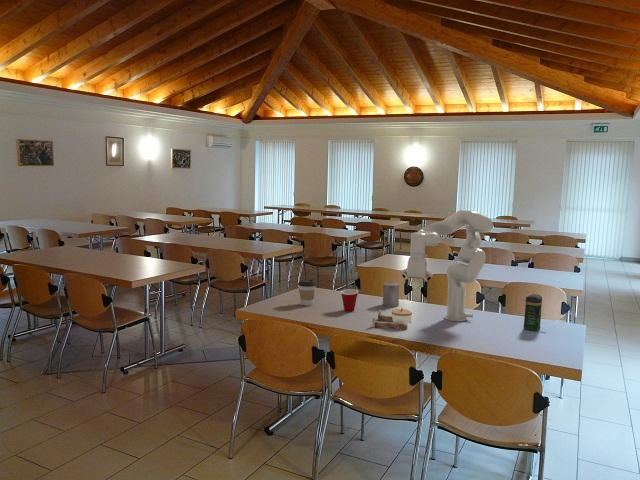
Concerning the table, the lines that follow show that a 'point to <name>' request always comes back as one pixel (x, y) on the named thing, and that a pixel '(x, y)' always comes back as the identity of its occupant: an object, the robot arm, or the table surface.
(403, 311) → the lidded jar
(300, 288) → the coffee cup
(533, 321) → the coffee jar
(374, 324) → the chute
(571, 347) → the table surface
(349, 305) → the plastic cup
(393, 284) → the pillar candle
